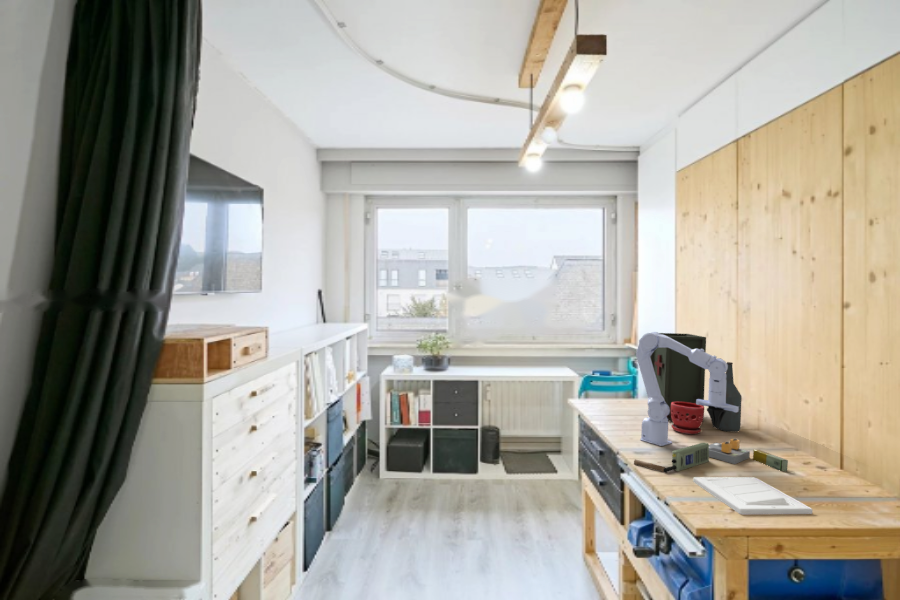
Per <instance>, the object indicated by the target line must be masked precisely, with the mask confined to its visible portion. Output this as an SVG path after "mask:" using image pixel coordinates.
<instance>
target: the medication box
mask: <svg viewBox="0 0 900 600" xmlns="http://www.w3.org/2000/svg"><path fill="white" fill-rule="evenodd" d="M752 460H753V461H755V462H757V463H760V464H762V463H763V465H764V464H765V466H767V465H768V466H767V467H769V466H770V467H769V468H772V469H774V470H777V471H779V470H780V471H779V472H782V471H783V472H788V468H789V467H788V465H789V460H788V459H786V458H782V457H780V456H778V455H775V454H772V453H769V452H767V451H764V450H761V449H753V453H752Z"/></svg>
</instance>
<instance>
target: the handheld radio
mask: <svg viewBox="0 0 900 600" xmlns="http://www.w3.org/2000/svg"><path fill="white" fill-rule="evenodd" d="M709 445H710V444H709V442H699V443H697V444H696V443H695V444H692V445H689V446H685V447H681V448H679V449H678V448H677V449H675V450H672V451H671V453H672V454H671V457H672V458H671V459H672V460H671V463H672V464H671V466H668V467H665V468H664V472H663V473H668V472H672V471H676V472H680V471H683V470H687V469H689V468H693V467H696V466H699V465H702V464H705V463H709V462H710V457H709Z"/></svg>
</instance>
